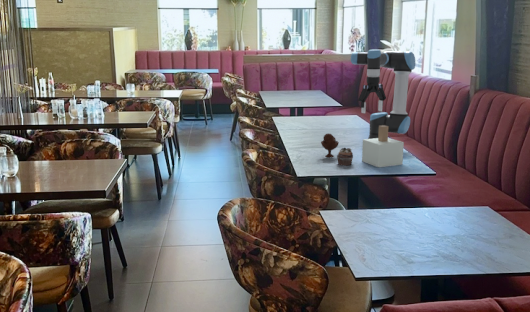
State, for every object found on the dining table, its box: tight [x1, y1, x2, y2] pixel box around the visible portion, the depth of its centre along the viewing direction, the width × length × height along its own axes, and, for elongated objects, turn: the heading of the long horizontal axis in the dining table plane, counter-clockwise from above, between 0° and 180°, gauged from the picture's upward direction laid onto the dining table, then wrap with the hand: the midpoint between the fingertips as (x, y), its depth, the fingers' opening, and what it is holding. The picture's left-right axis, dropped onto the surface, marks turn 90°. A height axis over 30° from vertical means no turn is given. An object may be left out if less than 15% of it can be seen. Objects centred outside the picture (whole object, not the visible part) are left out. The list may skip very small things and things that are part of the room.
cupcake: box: [336, 147, 354, 167], centre depth 326 cm, size 10×10×10 cm
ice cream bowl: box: [320, 133, 339, 158], centre depth 345 cm, size 11×11×15 cm
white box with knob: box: [361, 125, 405, 168], centre depth 327 cm, size 17×17×22 cm
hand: (371, 112), depth 326 cm, fingers open, 13 cm apart
